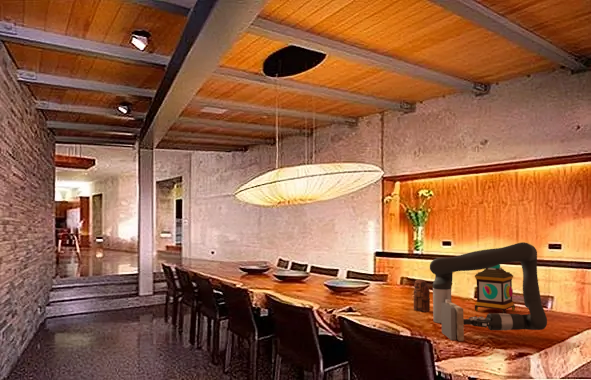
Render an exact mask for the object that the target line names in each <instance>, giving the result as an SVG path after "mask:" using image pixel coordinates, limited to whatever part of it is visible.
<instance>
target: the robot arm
mask: <svg viewBox="0 0 591 380" xmlns="http://www.w3.org/2000/svg"><path fill="white" fill-rule="evenodd" d="M517 262H520V265H521V269H522V278H523V279H522V295H523V303H524V306H525V308H527V309H528V311H529V313H528V314H523V313H522V314H519V313H506V314H505V313H503V312H502V313H500V312H499V313H498V312H497V313H495V312H493V313H492V312H490V313H489V312H488V313H487V314H486V317H484V316H479V317H478V316H470V317H468V318H464V325H469V326H473V327H479V328H488V330H489V331H517V330H518V331H519V330H520V331H521V330H527V331H528V330H529V331H542V330H545V328H546V327H547V325H548V319H547V315H546V312H545V310H544V307H543V305H542V298H541V293H540V286H539V277H538V251H537V249H536V247H535V246H534V245H533V244H530V243H529V242H523V241H522V242H517V243H513V244H511V245H510V244H509V245H507V246H503V247H498V248H490V249H489V248H487V249H481V250H475V251H471V252H466V253H463V254H460V255H457V256H453V257H444V256H443V257H438V258H434V259H433V260H432V261H431V262H430V263H429V270H430V272H431V273H432V274H433V275H435V277H434V280H433V282H432V306H433V307H432V314H433V315H432V317H433V318H432V319H433V320H432V321H433V322H434V323H437V324H438V323H439V324H442V322H441V303H446V300H451V301H452V284H453V273H455V272H468V271H470V272H471V271H479V270H484V269H487V268H491V267H494V266H497V265H499V264H500V265H501V264H505V263H517Z"/></svg>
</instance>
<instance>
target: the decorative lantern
mask: <svg viewBox="0 0 591 380" xmlns="http://www.w3.org/2000/svg"><path fill="white" fill-rule="evenodd" d="M474 278H475V280H476V302H475V304H474V310H475V312H478V311H479V308H485V309H486V308H487V309H492V310H493V309H494V310H501V311H502V313H505V314H507V310H508V309H511V311H512V312H514V311H515V310H516V305H515V303H514V301H513V292H514V290H513V287H512V286H513V285H512V284H513V283H512V281H513V278H514V274H513V273H510V271H506V270H505V269H504V268H503V267H501V264H499V265H497V266H494V267H491V268H487V269H483V270H482V271H479V272H477V273H476V274H475V275H474Z"/></svg>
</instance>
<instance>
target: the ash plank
mask: <svg viewBox="0 0 591 380" xmlns="http://www.w3.org/2000/svg"><path fill="white" fill-rule="evenodd" d="M447 304H449V305H451V306H452V307H454V308H455V319H456V341H458V342H463V341H465V333H464V332H465V331H464V328H465V326H464V319H465V318H464V308H463V307H462V306H460V305H458V304H456V303H454V302H452V301H451V302H447Z"/></svg>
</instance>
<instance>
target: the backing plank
mask: <svg viewBox="0 0 591 380" xmlns="http://www.w3.org/2000/svg"><path fill="white" fill-rule="evenodd" d="M447 302H452V299H451V300H446V303H441V322H442V323H441V333H442V335H444V336H446V337H447V338H448V339H449V340H450V341H457V339H456V319H455V308H454V307H452V306H451V305H449V304H447Z"/></svg>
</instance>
